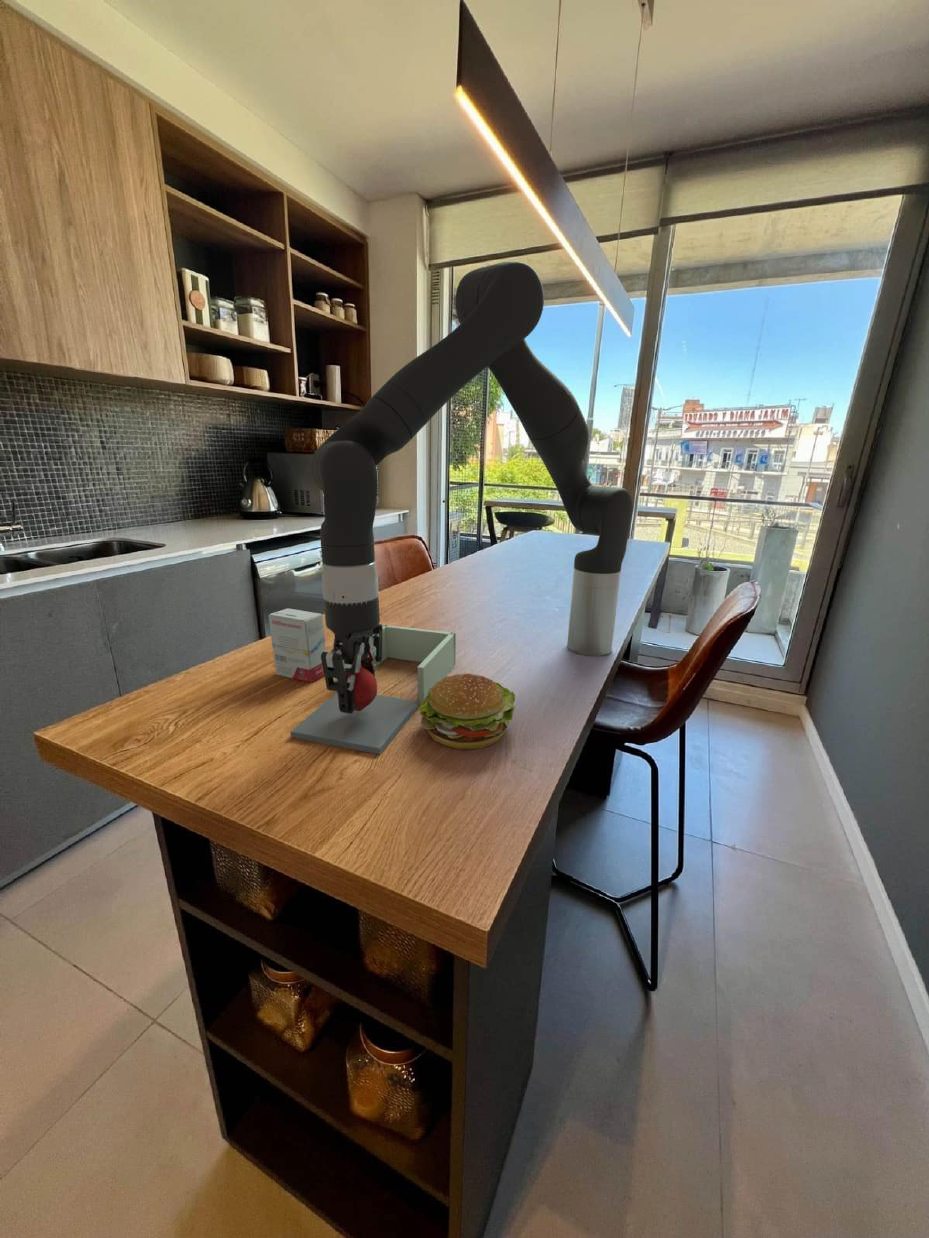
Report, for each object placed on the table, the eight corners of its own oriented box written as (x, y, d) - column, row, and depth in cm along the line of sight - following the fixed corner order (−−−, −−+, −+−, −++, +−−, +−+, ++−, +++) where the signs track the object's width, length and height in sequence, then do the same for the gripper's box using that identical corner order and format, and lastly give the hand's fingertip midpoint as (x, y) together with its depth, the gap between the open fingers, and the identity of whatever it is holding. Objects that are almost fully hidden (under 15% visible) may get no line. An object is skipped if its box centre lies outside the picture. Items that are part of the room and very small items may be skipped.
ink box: (329, 673, 90) (324, 612, 87) (311, 684, 86) (305, 620, 82) (293, 665, 94) (287, 606, 90) (274, 674, 90) (267, 613, 86)
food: (487, 769, 63) (489, 715, 61) (402, 736, 70) (401, 686, 68) (531, 723, 74) (535, 676, 72) (454, 699, 81) (455, 655, 79)
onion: (369, 722, 70) (366, 672, 68) (332, 718, 72) (328, 668, 69) (383, 703, 76) (381, 656, 73) (349, 699, 77) (345, 652, 74)
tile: (341, 694, 82) (341, 689, 82) (418, 706, 79) (418, 701, 78) (290, 737, 70) (290, 731, 69) (380, 754, 66) (380, 748, 66)
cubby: (384, 655, 99) (383, 624, 97) (455, 664, 95) (455, 633, 93) (341, 691, 83) (339, 656, 81) (423, 704, 79) (423, 667, 77)
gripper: (349, 611, 60) (357, 730, 66) (397, 583, 73) (400, 684, 79) (296, 605, 62) (309, 721, 68) (352, 579, 75) (359, 678, 81)
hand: (358, 701), depth 73 cm, fingers closed on onion, 6 cm apart
